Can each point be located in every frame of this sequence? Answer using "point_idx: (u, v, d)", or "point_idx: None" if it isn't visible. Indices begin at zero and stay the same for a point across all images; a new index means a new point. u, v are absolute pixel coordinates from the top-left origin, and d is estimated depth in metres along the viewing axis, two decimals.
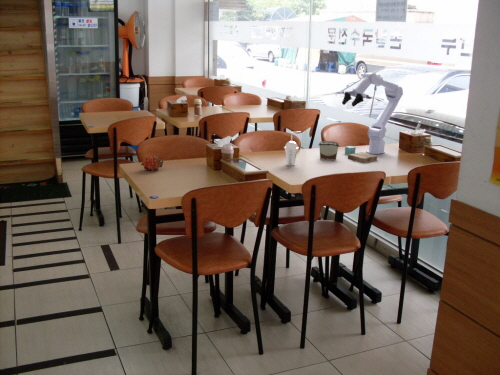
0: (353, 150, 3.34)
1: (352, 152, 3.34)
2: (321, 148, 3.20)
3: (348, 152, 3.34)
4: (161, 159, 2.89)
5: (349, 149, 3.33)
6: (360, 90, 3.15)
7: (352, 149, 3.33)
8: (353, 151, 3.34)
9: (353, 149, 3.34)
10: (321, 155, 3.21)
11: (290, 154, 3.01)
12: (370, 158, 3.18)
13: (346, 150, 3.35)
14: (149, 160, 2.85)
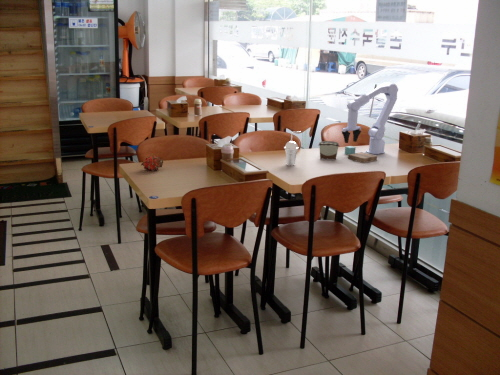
0: (353, 150, 3.34)
1: (352, 152, 3.34)
2: (321, 148, 3.20)
3: (348, 152, 3.34)
4: (161, 159, 2.89)
5: (349, 149, 3.33)
6: (347, 125, 3.31)
7: (352, 149, 3.33)
8: (353, 151, 3.34)
9: (353, 149, 3.34)
10: (321, 155, 3.21)
11: (290, 154, 3.01)
12: (370, 158, 3.18)
13: (346, 150, 3.35)
14: (149, 160, 2.85)
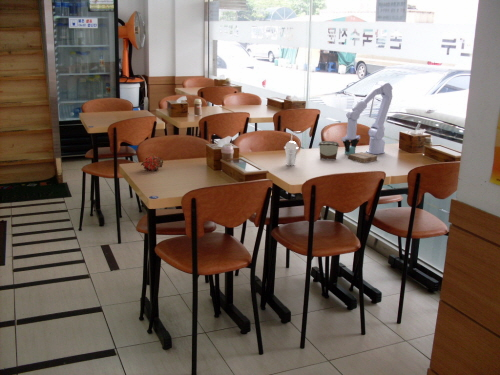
0: (353, 150, 3.34)
1: (352, 152, 3.34)
2: (321, 148, 3.20)
3: (348, 152, 3.34)
4: (161, 159, 2.89)
5: (349, 149, 3.33)
6: None
7: (352, 149, 3.33)
8: (353, 151, 3.34)
9: (353, 149, 3.34)
10: (321, 155, 3.21)
11: (290, 154, 3.01)
12: (370, 158, 3.18)
13: None
14: (149, 160, 2.85)
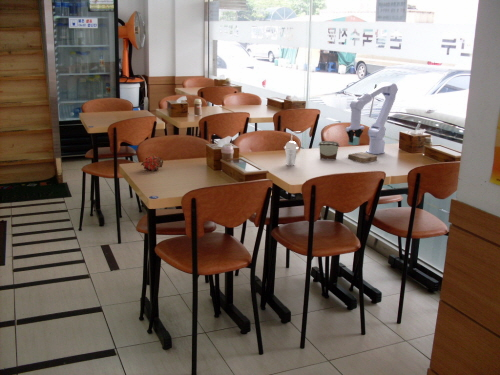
0: (357, 140, 3.29)
1: (356, 142, 3.29)
2: (321, 148, 3.20)
3: None
4: (161, 159, 2.89)
5: (353, 139, 3.28)
6: None
7: (356, 139, 3.28)
8: (357, 141, 3.29)
9: (357, 139, 3.29)
10: (321, 155, 3.21)
11: (290, 154, 3.01)
12: (370, 158, 3.18)
13: None
14: (149, 160, 2.85)
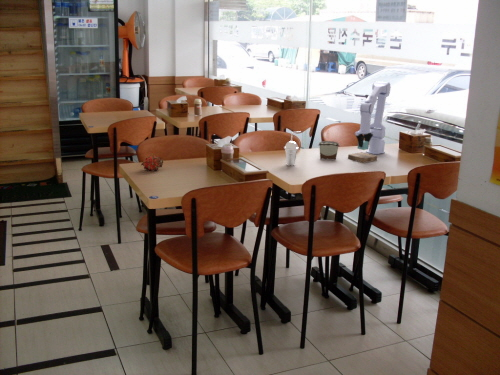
0: (366, 145, 3.19)
1: (365, 147, 3.19)
2: (321, 148, 3.20)
3: (361, 147, 3.19)
4: (161, 159, 2.89)
5: None
6: (360, 128, 3.17)
7: (365, 144, 3.19)
8: (366, 146, 3.20)
9: (366, 144, 3.19)
10: (321, 155, 3.21)
11: (290, 154, 3.01)
12: (370, 158, 3.18)
13: None
14: (149, 160, 2.85)
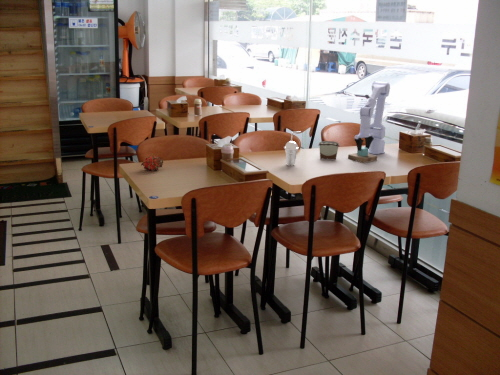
0: (366, 151, 3.21)
1: (365, 153, 3.21)
2: (321, 148, 3.20)
3: (361, 153, 3.20)
4: (161, 159, 2.89)
5: (362, 150, 3.19)
6: (360, 131, 3.18)
7: (365, 150, 3.20)
8: (366, 152, 3.21)
9: (366, 150, 3.20)
10: (321, 155, 3.21)
11: (290, 154, 3.01)
12: (370, 158, 3.18)
13: (359, 151, 3.21)
14: (149, 160, 2.85)
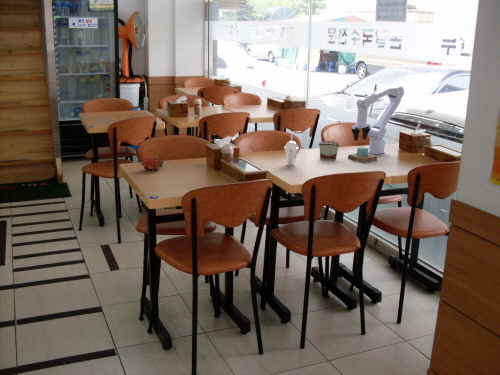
0: (366, 151, 3.21)
1: (365, 153, 3.21)
2: (321, 148, 3.20)
3: (361, 153, 3.20)
4: (161, 159, 2.89)
5: (362, 150, 3.19)
6: (357, 122, 3.29)
7: (365, 150, 3.20)
8: (366, 152, 3.21)
9: (366, 150, 3.20)
10: (321, 155, 3.21)
11: (290, 154, 3.01)
12: (370, 158, 3.18)
13: (358, 151, 3.21)
14: (149, 160, 2.85)
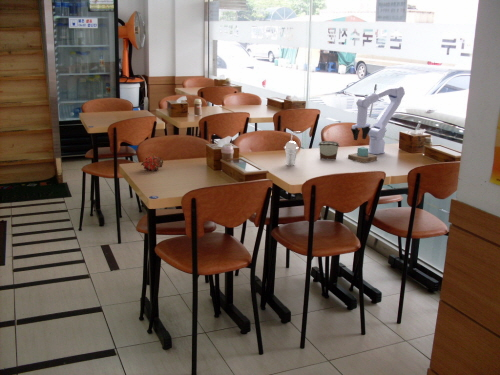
0: (366, 151, 3.21)
1: (365, 153, 3.20)
2: (321, 148, 3.20)
3: (361, 153, 3.20)
4: (161, 159, 2.89)
5: (362, 150, 3.19)
6: (357, 122, 3.29)
7: (365, 150, 3.20)
8: (366, 152, 3.21)
9: (366, 150, 3.20)
10: (321, 155, 3.21)
11: (290, 154, 3.01)
12: (370, 158, 3.18)
13: (359, 151, 3.21)
14: (149, 160, 2.85)
